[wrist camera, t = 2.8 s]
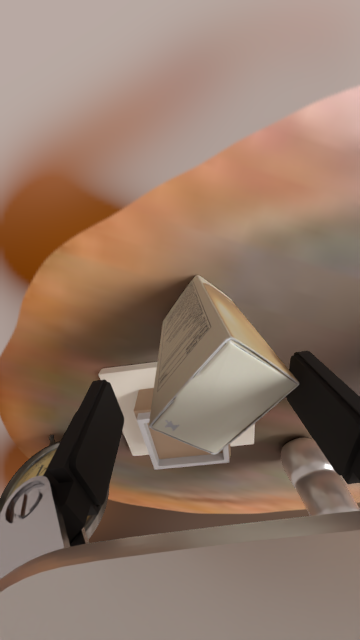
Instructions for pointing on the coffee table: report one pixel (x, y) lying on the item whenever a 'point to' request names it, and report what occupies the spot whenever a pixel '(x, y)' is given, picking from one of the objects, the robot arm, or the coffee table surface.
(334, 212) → the coffee table surface
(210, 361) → the skincare box
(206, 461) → the display base
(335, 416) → the robot arm
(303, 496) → the plastic bottle
